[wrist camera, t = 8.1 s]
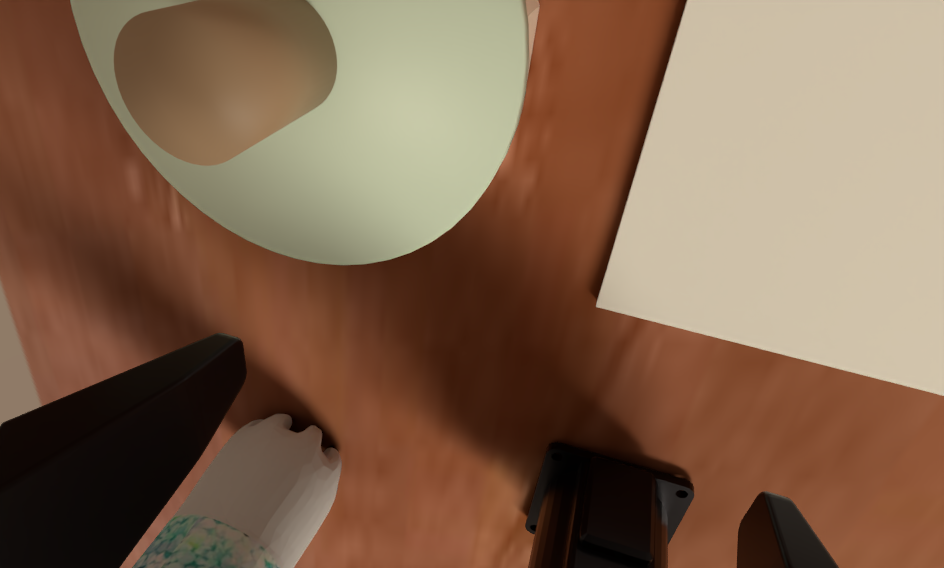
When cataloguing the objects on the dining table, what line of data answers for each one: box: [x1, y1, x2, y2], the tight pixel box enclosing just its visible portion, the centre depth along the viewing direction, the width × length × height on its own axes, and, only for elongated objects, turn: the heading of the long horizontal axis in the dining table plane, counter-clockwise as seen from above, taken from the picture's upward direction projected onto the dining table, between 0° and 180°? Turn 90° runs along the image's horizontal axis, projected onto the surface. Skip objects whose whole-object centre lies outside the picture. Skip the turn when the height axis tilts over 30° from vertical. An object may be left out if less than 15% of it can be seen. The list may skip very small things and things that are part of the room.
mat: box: [596, 0, 944, 396], centre depth 17 cm, size 14×14×1 cm
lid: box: [70, 0, 529, 265], centre depth 14 cm, size 13×13×5 cm
